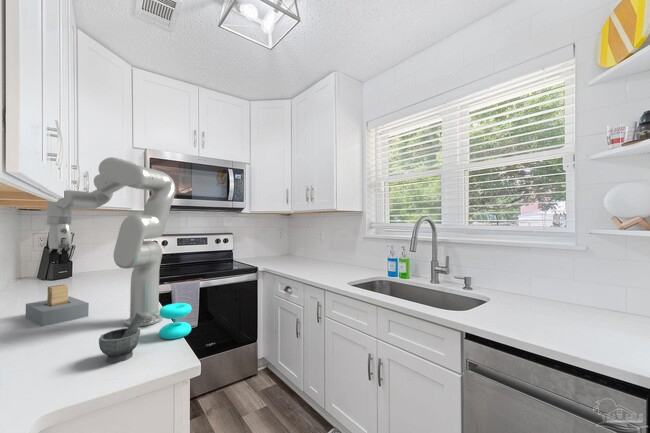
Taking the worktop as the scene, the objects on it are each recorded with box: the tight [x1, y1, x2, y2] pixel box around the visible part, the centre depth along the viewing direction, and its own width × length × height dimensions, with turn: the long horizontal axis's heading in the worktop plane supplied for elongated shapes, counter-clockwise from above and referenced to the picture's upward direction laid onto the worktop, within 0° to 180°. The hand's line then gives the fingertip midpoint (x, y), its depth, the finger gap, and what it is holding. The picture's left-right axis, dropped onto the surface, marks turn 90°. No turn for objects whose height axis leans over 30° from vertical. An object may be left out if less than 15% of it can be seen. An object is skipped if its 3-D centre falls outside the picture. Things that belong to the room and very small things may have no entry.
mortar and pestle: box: [98, 313, 146, 364], centre depth 84 cm, size 11×9×12 cm
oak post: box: [46, 284, 69, 307], centre depth 119 cm, size 5×5×12 cm
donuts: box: [158, 302, 192, 340], centre depth 101 cm, size 10×10×10 cm
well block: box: [25, 295, 90, 328], centre depth 119 cm, size 20×14×6 cm
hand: (58, 262), depth 119 cm, fingers open, 9 cm apart
